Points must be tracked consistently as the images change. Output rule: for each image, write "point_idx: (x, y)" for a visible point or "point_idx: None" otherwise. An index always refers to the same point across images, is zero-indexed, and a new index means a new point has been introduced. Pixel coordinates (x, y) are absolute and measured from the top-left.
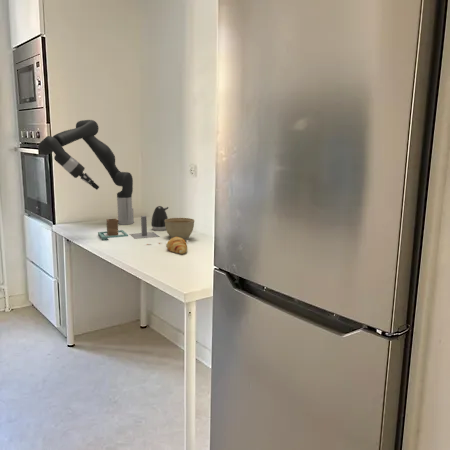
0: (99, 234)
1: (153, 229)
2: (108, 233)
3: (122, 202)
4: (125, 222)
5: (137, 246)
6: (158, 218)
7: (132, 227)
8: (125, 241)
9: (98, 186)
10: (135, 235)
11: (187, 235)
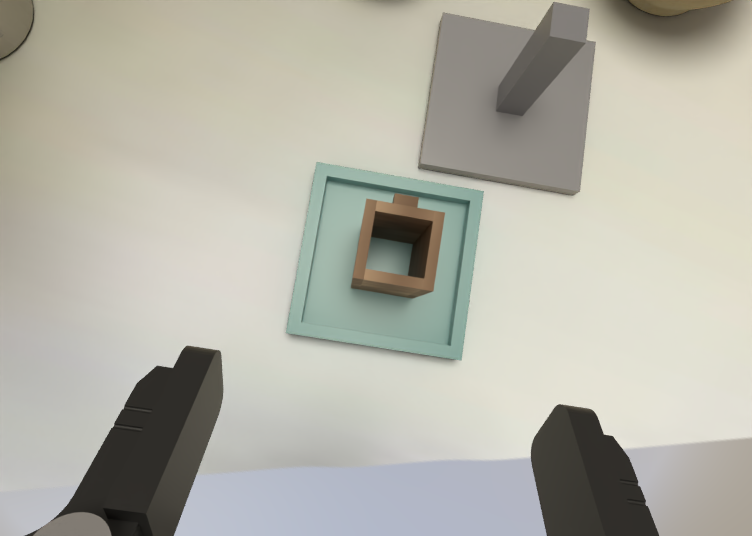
0: (354, 343)
1: None
2: (407, 295)
3: None
4: (17, 23)
5: (704, 236)
6: None
7: (157, 36)
8: (551, 244)
9: (595, 428)
10: (487, 147)
11: None
